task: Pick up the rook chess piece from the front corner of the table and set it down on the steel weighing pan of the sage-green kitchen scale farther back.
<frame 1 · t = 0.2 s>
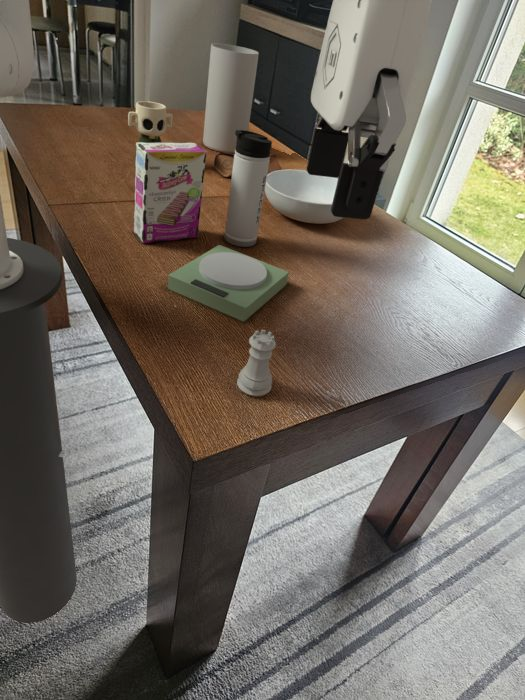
hand: (334, 194, 44), 28 cm above the table, tool pointing down, fingers open, 9 cm apart
character mug: (149, 161, 127), on the table
serving bowl: (305, 215, 114), on the table
rook chess piece: (253, 387, 64), on the table
cylinder vase: (224, 147, 147), on the table
candy bar box: (166, 237, 95), on the table
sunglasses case: (250, 173, 132), on the table
travel mug: (239, 241, 98), on the table
kitchen scale: (229, 286, 83), on the table
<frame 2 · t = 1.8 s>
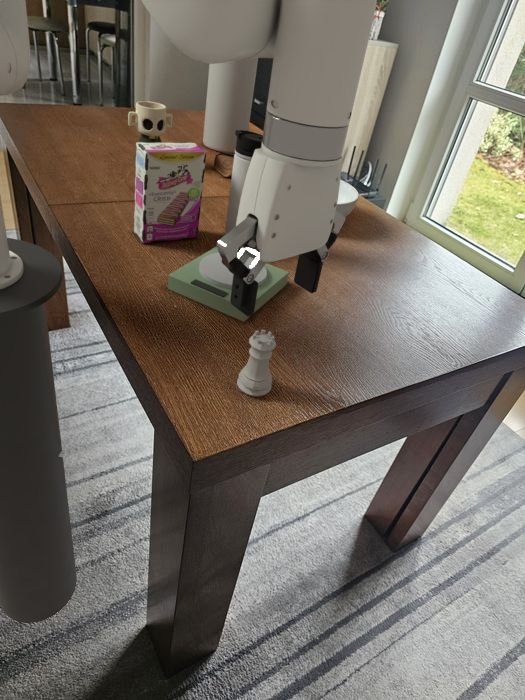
hand: (274, 298, 56), 13 cm above the table, tool pointing down, fingers open, 9 cm apart
nothing on the table moved.
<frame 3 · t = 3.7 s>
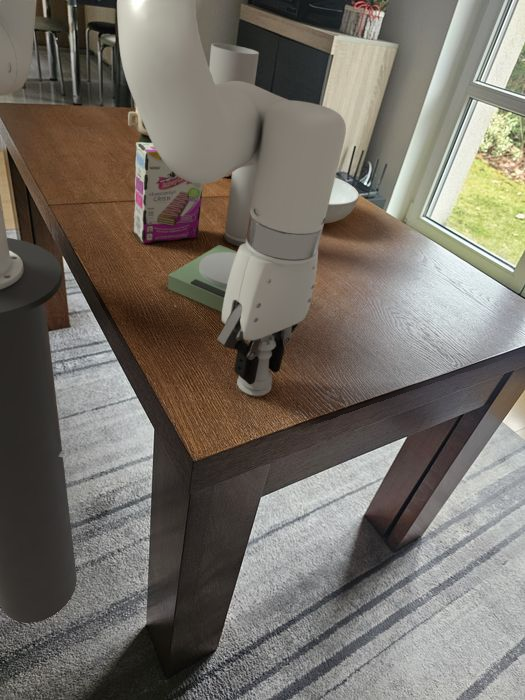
hand: (256, 370, 63), 3 cm above the table, tool pointing down, fingers closed on rook chess piece, 3 cm apart
rook chess piece: (253, 387, 64), on the table, touching gripper
everything else where it was.
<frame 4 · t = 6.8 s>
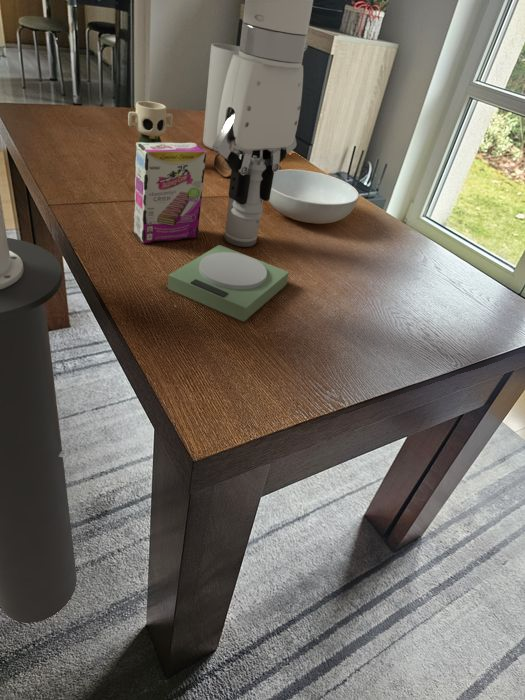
hand: (249, 197, 70), 17 cm above the table, tool pointing down, fingers closed on rook chess piece, 3 cm apart
rook chess piece: (246, 217, 71), point 14 cm above the table, touching gripper
everything else where it was.
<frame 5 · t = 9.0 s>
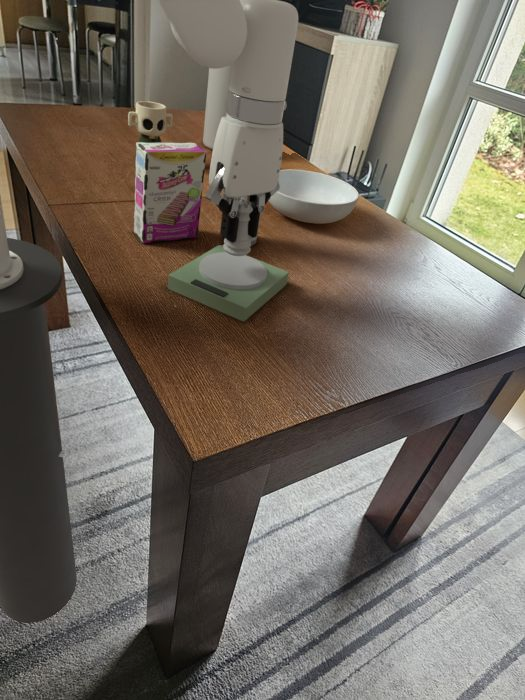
hand: (238, 235, 78), 9 cm above the table, tool pointing down, fingers closed on rook chess piece, 3 cm apart
rook chess piece: (236, 251, 80), point 6 cm above the table, touching gripper
everything else where it was.
when the fingers open (6 cm above the table, at t = 10.1 s): rook chess piece stays where it is, resting on kitchen scale.
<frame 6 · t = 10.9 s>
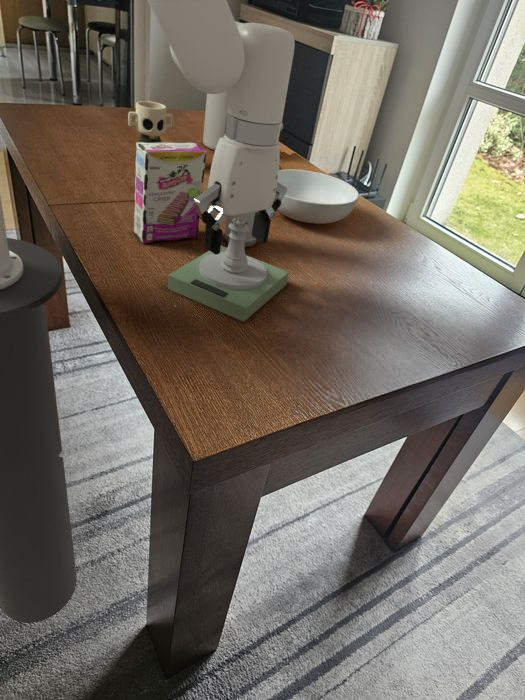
hand: (236, 244, 79), 7 cm above the table, tool pointing down, fingers open, 9 cm apart
rook chess piece: (233, 268, 82), point 3 cm above the table, touching kitchen scale
everything else where it was.
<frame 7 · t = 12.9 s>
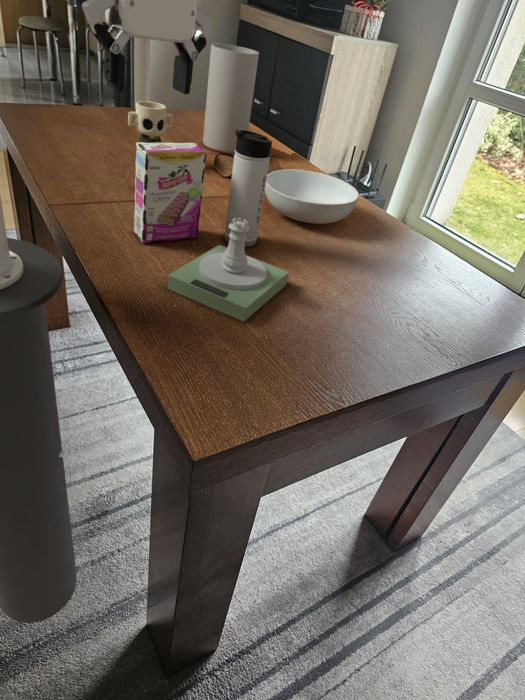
hand: (149, 90, 65), 28 cm above the table, tool pointing down, fingers open, 9 cm apart
nothing on the table moved.
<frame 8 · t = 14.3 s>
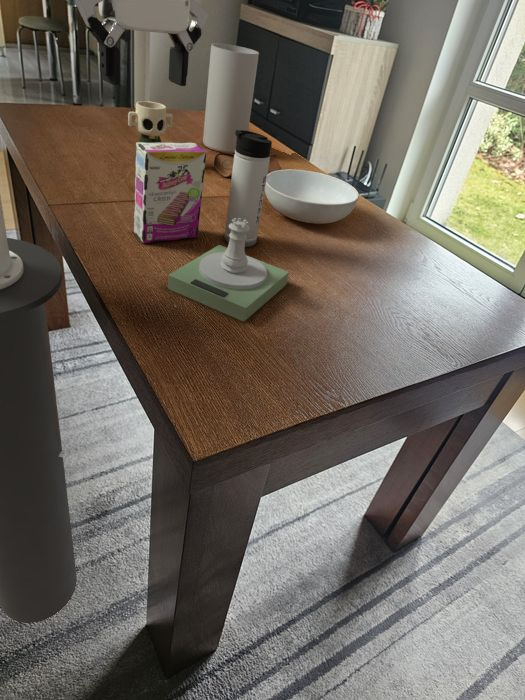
hand: (145, 83, 65), 28 cm above the table, tool pointing down, fingers open, 9 cm apart
nothing on the table moved.
at the end: rook chess piece inside the target area on the kitchen scale (0.2 cm from its centre), point 3.1 cm above the kitchen scale's base; rook chess piece tilted 0°; the gripper is holding nothing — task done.
